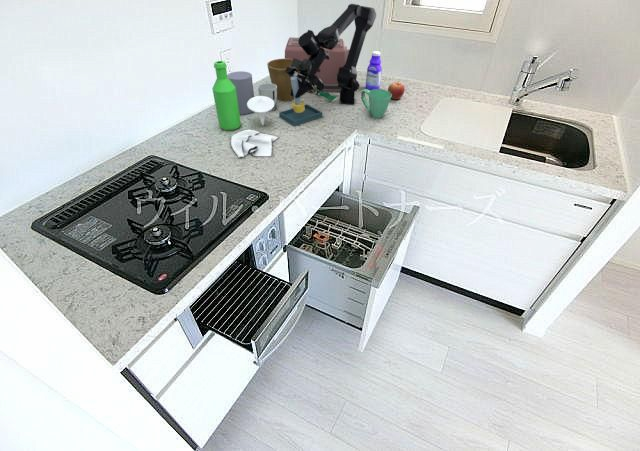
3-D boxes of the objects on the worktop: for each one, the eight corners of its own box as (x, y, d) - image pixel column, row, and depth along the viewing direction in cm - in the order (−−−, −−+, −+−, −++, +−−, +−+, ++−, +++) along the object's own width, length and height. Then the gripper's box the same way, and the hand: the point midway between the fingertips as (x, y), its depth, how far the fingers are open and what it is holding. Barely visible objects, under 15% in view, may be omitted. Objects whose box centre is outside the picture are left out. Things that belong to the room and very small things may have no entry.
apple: (401, 94, 169) (404, 78, 164) (404, 101, 163) (407, 84, 158) (385, 94, 169) (387, 78, 163) (388, 101, 163) (390, 84, 158)
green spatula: (307, 92, 169) (307, 82, 166) (310, 91, 170) (310, 81, 167) (336, 105, 157) (337, 95, 154) (339, 104, 158) (340, 94, 155)
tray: (307, 108, 154) (306, 104, 153) (322, 116, 148) (322, 112, 147) (279, 116, 147) (279, 112, 146) (294, 126, 141) (294, 121, 139)
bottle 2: (363, 88, 174) (367, 52, 163) (367, 85, 178) (371, 49, 166) (376, 91, 172) (381, 54, 160) (380, 88, 175) (385, 51, 164)
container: (259, 107, 155) (255, 72, 145) (249, 116, 147) (245, 80, 137) (238, 104, 157) (233, 70, 147) (228, 113, 149) (222, 78, 139)
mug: (392, 116, 150) (396, 93, 143) (378, 122, 145) (382, 99, 138) (367, 106, 158) (369, 84, 151) (353, 112, 152) (355, 89, 146)
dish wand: (300, 105, 144) (295, 73, 133) (307, 109, 142) (302, 77, 131) (291, 109, 142) (285, 78, 132) (298, 114, 140) (292, 82, 129)
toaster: (350, 92, 170) (353, 48, 157) (283, 90, 170) (280, 46, 157) (348, 79, 185) (351, 37, 171) (286, 77, 185) (284, 36, 171)
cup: (275, 113, 150) (273, 90, 143) (257, 111, 151) (255, 88, 144) (280, 106, 156) (279, 84, 149) (263, 104, 157) (261, 82, 150)
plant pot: (272, 92, 168) (269, 57, 158) (301, 93, 168) (301, 58, 158) (267, 104, 157) (264, 68, 147) (299, 105, 157) (298, 69, 147)
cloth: (247, 127, 139) (246, 122, 137) (291, 141, 131) (291, 135, 129) (212, 148, 126) (210, 142, 124) (258, 165, 118) (257, 159, 116)
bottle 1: (222, 133, 135) (210, 67, 118) (217, 124, 141) (204, 60, 124) (244, 128, 138) (234, 64, 122) (237, 120, 144) (228, 57, 127)
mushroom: (277, 129, 138) (275, 100, 130) (250, 131, 136) (246, 102, 128) (274, 119, 145) (272, 91, 138) (249, 120, 144) (245, 92, 136)
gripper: (287, 44, 133) (267, 79, 134) (319, 54, 123) (296, 92, 124) (303, 61, 142) (283, 94, 144) (333, 72, 132) (312, 107, 134)
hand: (293, 96), depth 136 cm, fingers closed on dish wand, 2 cm apart
